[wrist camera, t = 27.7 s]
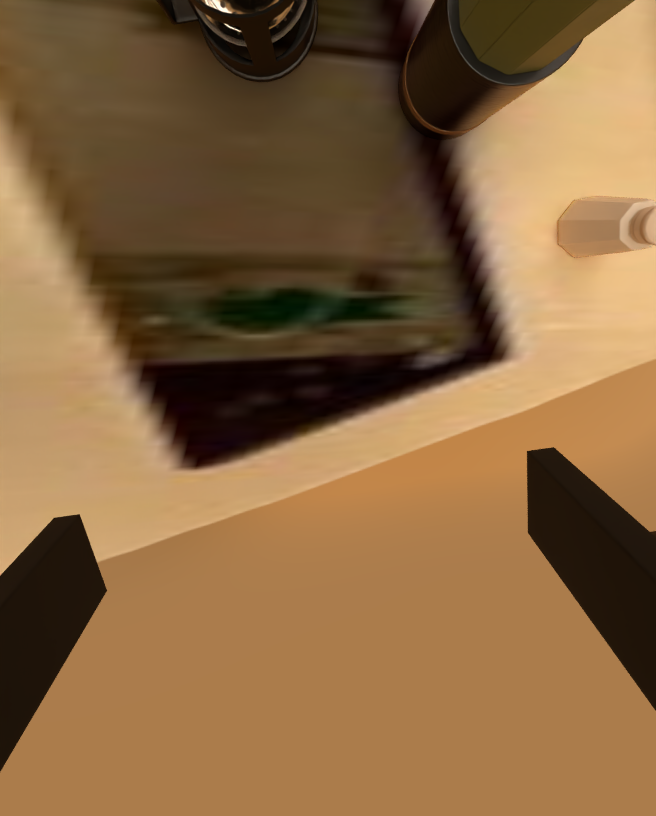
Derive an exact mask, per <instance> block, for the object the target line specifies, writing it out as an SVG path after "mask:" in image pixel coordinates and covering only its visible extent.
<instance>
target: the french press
mask: <svg viewBox="0 0 656 816" xmlns="http://www.w3.org/2000/svg"><path fill="white" fill-rule="evenodd" d="M157 2H158V3H159V5H160V6H161V8H162V9H163V11H164V12H165V14H166V15H167V17H168V18H169V20H170V21H171V23H173V24H181V23H187V22H192V21H199V23H200V25H201V29H202V32H203V35H204V38H205V40H206V42H207V44H208V46H209V48H210V50H211V51H212V53H213V54H214V55H215V57H216V58H217V60H218V61H219V62H220V63H221V64H222V65H223V66H224V67H225V68H226V69H228V70H229V71H231V72H232V73H234V74H235V75H237V76H239V77H242V78H244V79H246V80H251V81H257V82H265V81H272V80H276V79H279V78H282V77H283V76H285V75H287V74H289V73H291V72H292V71H293V70H294V69H295V68H296V67H297V66H299V65H300V63H301V62H302V61H303V59H304V58H305V57H306V55H307V54H308V52H309V50H310V48H311V46H312V44H313V40H314V37H315V34H316V30H317V21H318V5H317V0H157ZM301 14H302V16H301ZM300 16H301V24H300V28H299V31H298V34H297V36H296V38H295V40H294V42H293V43H292V44H291V46H290V47H289V48H288V49H287V50H286V51H285V52H284V53H283V54H282V55H280V56H278V57H277V58H276V57H275V52H274V48H273V44H272V43H274V42H275V41H277V40H278V39H280V38H282V37H283V36H284V35H285V34H286V33H287V32H289V31H290V30H291V29H292V28H293V26H294V25H295V24H296V22H297V21H298V20H299V18H300ZM224 39H225V40H226V41H229V42H231V43H234V44H236V45H240V46H245V47H247V48H248V51H249V54H250V56H251V59H252V60H248V59H246V58H243V57H241V56H240V55H238V54H237V53H235V52H234V51H233V50H232V49H231V48H230V47H229V46H228V45H227V44H226V42H225V41H224Z"/></svg>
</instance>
